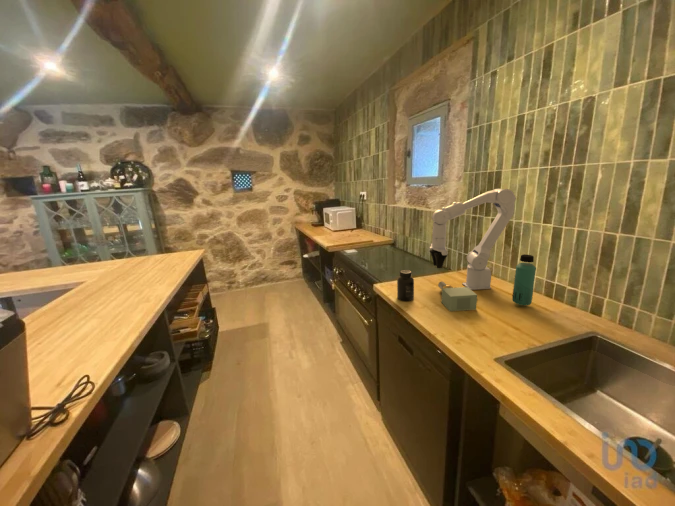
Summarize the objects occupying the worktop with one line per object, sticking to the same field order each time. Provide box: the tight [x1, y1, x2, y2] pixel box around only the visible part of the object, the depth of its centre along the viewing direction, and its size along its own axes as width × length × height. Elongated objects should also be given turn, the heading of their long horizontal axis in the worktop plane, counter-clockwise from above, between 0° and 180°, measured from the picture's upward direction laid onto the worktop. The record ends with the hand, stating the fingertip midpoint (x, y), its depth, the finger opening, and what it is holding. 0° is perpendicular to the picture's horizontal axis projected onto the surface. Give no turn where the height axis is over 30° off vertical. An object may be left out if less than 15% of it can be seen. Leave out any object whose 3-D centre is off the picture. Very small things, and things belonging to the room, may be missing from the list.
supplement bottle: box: [396, 269, 415, 302], centre depth 116 cm, size 7×7×12 cm
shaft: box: [437, 281, 454, 290], centre depth 117 cm, size 14×5×5 cm, turn 2°
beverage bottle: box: [511, 254, 537, 306], centre depth 104 cm, size 6×7×20 cm
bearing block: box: [440, 286, 478, 312], centre depth 108 cm, size 10×8×6 cm
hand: (437, 266), depth 127 cm, fingers open, 3 cm apart
